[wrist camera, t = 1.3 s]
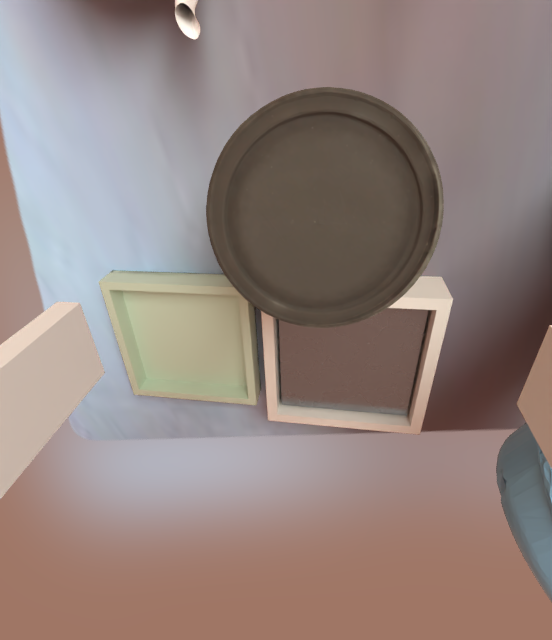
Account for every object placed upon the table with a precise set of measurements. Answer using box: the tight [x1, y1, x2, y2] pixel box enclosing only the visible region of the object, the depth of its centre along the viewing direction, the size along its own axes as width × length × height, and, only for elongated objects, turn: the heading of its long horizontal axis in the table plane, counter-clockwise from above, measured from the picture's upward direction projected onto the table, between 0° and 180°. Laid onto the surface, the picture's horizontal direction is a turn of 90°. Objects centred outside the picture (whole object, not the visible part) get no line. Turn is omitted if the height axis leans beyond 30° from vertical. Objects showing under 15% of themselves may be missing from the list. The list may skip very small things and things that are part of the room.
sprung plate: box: [279, 308, 428, 416], centre depth 35 cm, size 12×12×1 cm
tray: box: [99, 270, 261, 405], centre depth 38 cm, size 14×14×2 cm
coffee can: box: [206, 87, 444, 328], centre depth 23 cm, size 10×10×14 cm
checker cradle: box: [261, 276, 453, 435], centre depth 35 cm, size 15×15×4 cm
